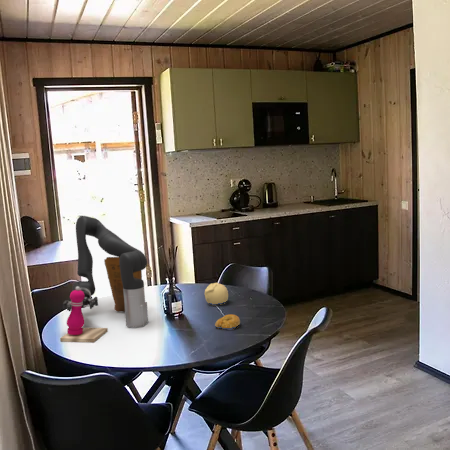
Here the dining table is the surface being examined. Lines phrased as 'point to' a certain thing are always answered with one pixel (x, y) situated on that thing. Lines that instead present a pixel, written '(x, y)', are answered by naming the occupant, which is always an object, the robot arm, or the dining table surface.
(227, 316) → the bagel
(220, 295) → the tan round lump
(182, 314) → the dining table surface
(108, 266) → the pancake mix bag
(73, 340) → the birch board
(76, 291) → the pepper mill
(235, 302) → the dining table surface
